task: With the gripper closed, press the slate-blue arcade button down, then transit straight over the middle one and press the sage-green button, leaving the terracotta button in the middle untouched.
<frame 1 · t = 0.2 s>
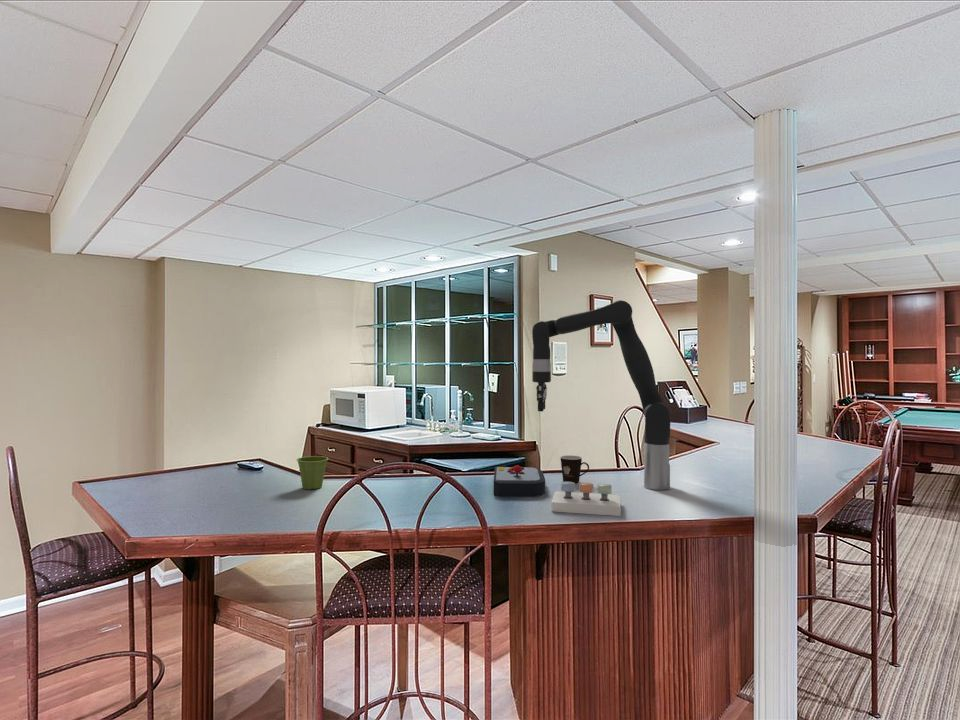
hand: (541, 410, 214), 29 cm above the table, fingers open, 8 cm apart
arcade joystick: (518, 488, 205), on the table
sage button: (604, 493, 176), point 5 cm above the table, slide at 0.0 cm
plant pot: (312, 488, 204), on the table
console: (586, 507, 177), on the table
terracotta button: (586, 492, 177), point 5 cm above the table, slide at 0.0 cm
coffee mug: (573, 483, 212), on the table
slate button: (568, 491, 179), point 5 cm above the table, slide at 0.0 cm
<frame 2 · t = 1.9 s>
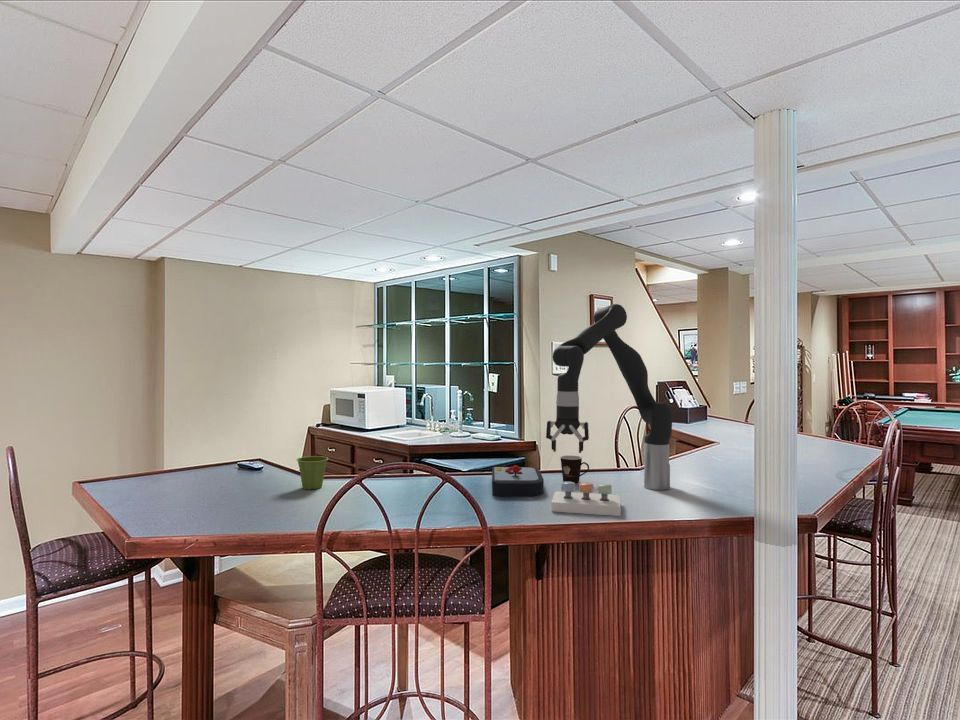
hand: (567, 452, 179), 18 cm above the table, fingers open, 8 cm apart
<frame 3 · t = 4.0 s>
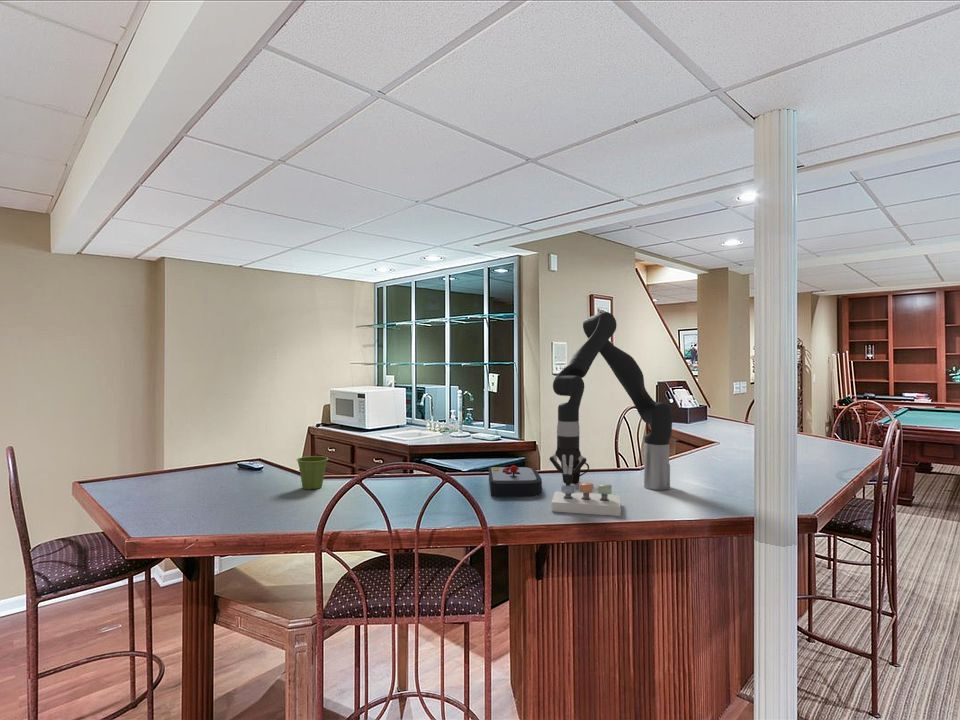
hand: (567, 484, 179), 7 cm above the table, fingers closed
slate button: (568, 493, 179), point 5 cm above the table, slide at 0.6 cm, touching gripper
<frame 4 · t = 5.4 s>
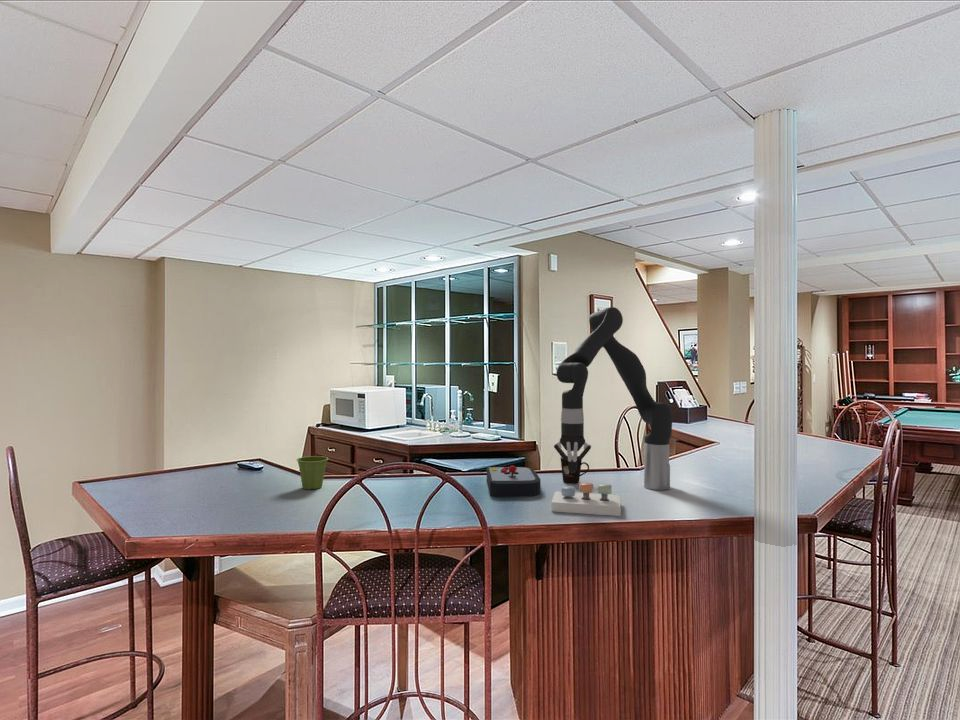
hand: (572, 472, 179), 12 cm above the table, fingers closed
slate button: (568, 495, 179), point 4 cm above the table, slide at 1.6 cm
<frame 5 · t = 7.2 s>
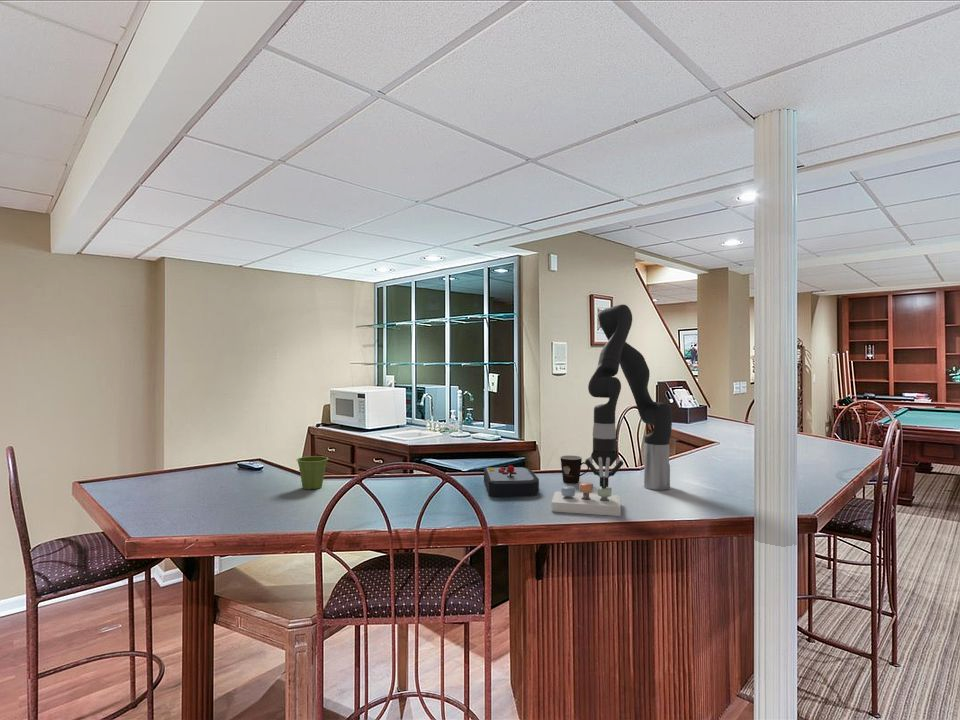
hand: (603, 487, 176), 7 cm above the table, fingers closed
sage button: (604, 496, 176), point 4 cm above the table, slide at 0.9 cm, touching gripper
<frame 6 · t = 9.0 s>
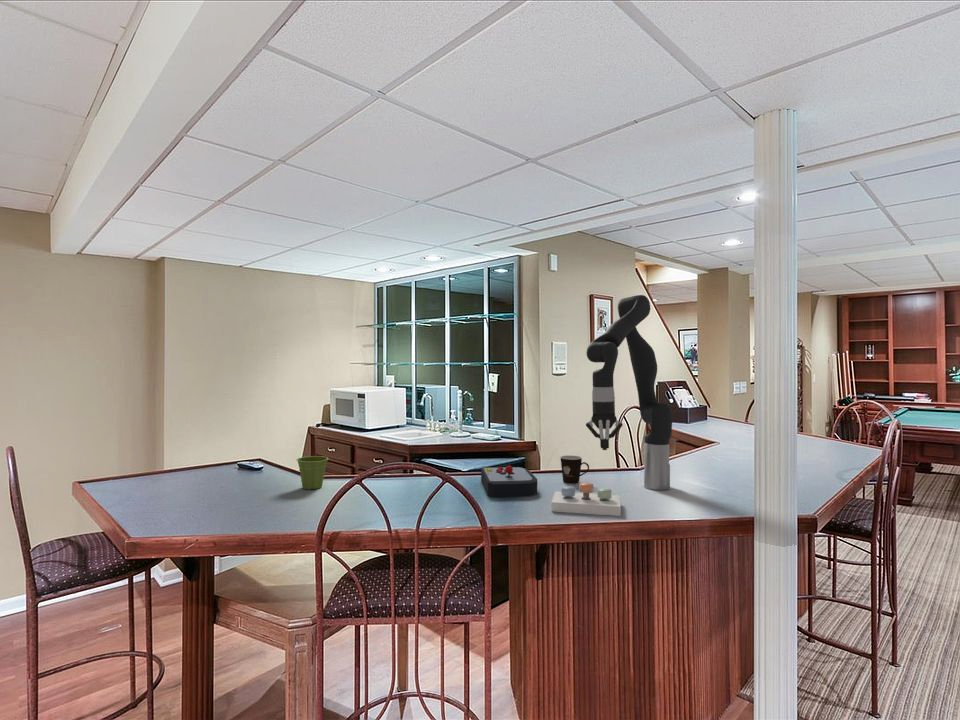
hand: (604, 449, 182), 19 cm above the table, fingers closed
sage button: (604, 498, 176), point 4 cm above the table, slide at 1.6 cm
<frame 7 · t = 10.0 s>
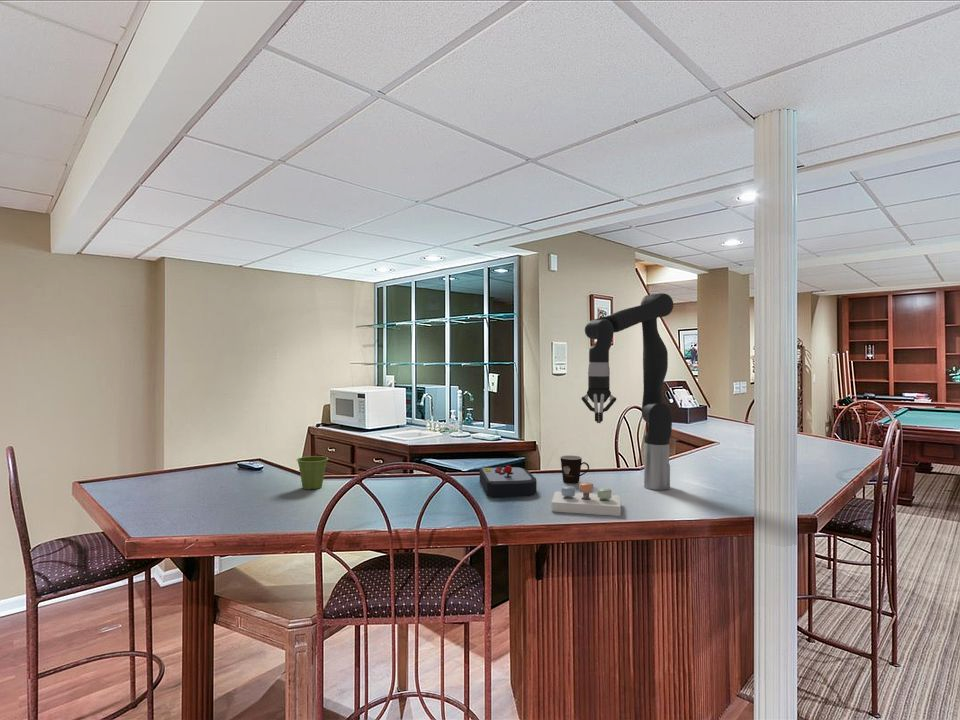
hand: (598, 422, 190), 27 cm above the table, fingers closed
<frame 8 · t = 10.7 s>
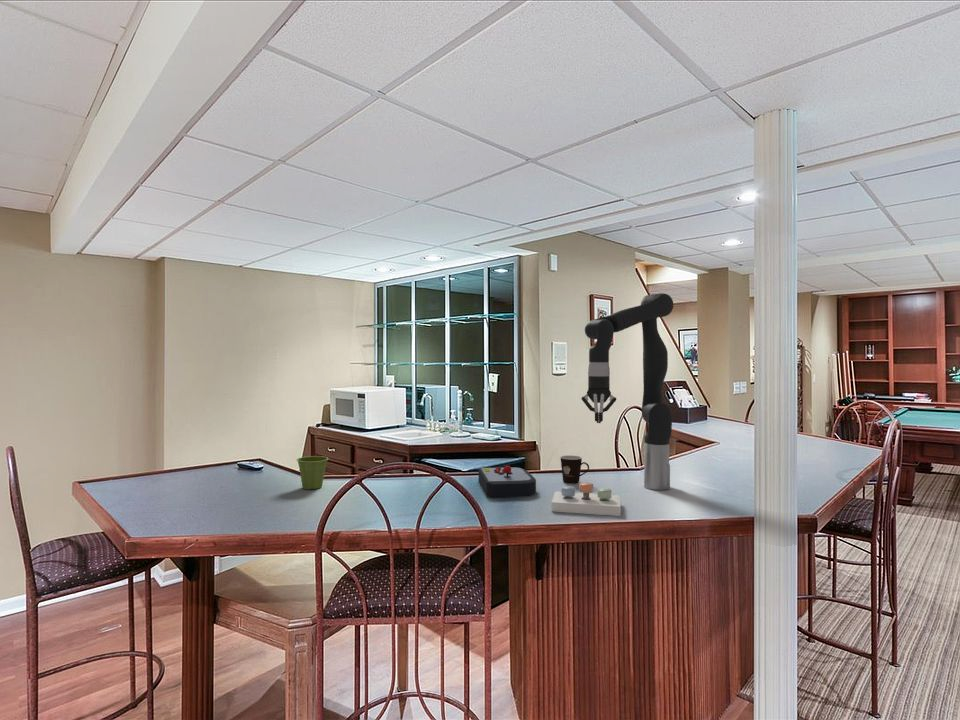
hand: (598, 422, 190), 27 cm above the table, fingers closed
at the end: slate button slide at 1.6 cm; sage button slide at 1.6 cm; terracotta button slide at 0.0 cm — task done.
